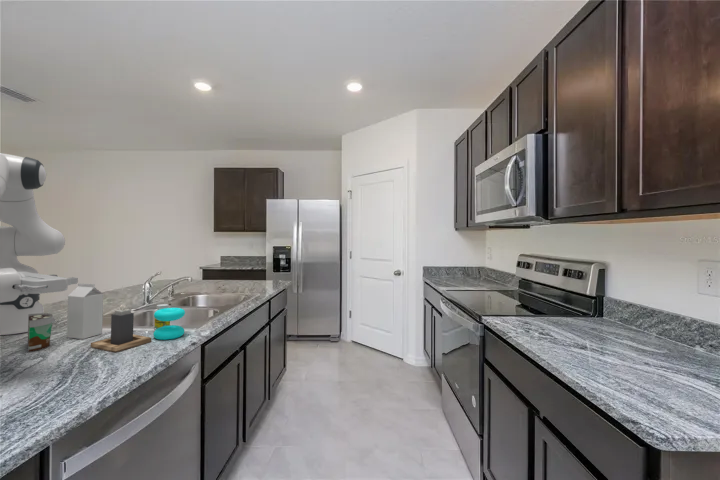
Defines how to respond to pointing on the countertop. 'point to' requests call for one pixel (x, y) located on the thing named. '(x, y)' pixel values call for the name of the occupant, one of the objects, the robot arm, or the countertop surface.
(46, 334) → the food container
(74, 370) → the countertop surface
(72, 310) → the milk carton
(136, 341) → the wooden tray
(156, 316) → the donuts
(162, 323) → the supplement bottle
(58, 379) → the countertop surface
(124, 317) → the plug
